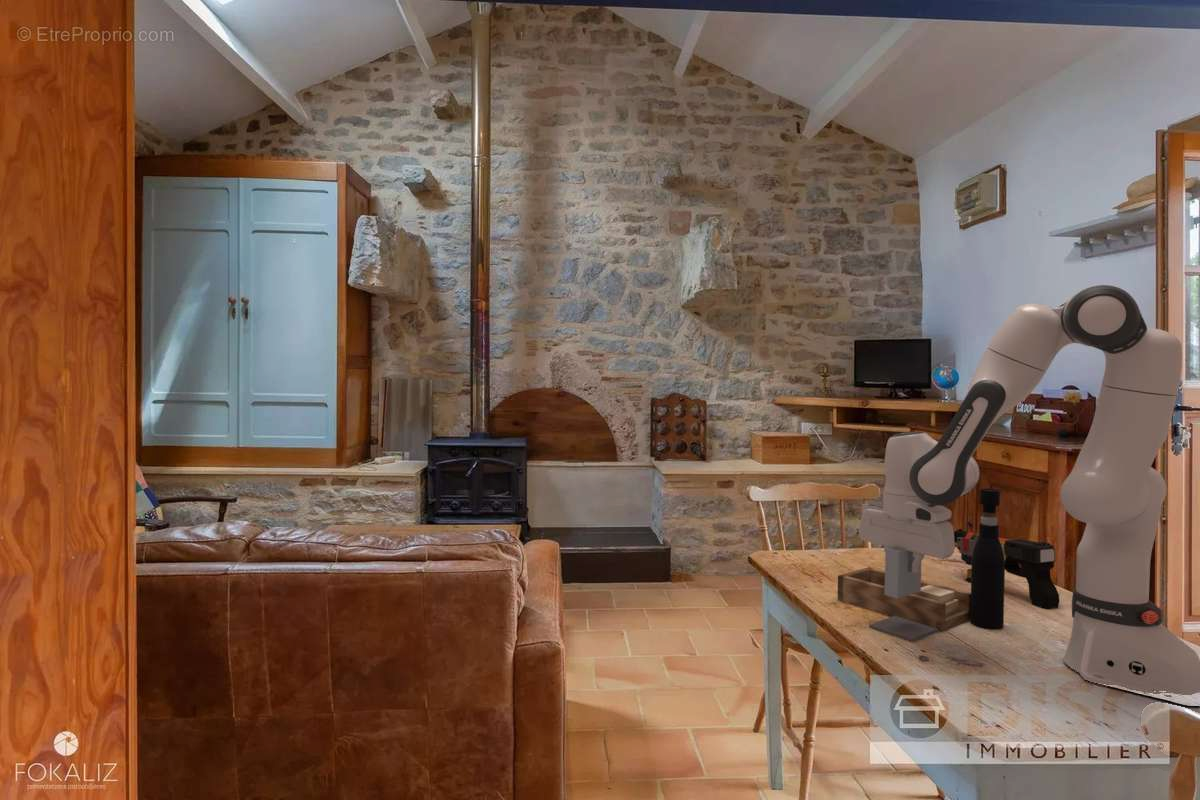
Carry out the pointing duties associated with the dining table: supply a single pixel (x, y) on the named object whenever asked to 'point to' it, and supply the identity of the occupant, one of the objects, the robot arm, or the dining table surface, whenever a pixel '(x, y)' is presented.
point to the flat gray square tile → (903, 628)
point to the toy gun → (1031, 558)
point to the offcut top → (936, 593)
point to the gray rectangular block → (900, 573)
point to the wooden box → (901, 600)
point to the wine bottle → (988, 568)
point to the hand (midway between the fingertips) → (903, 569)
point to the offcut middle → (952, 607)
